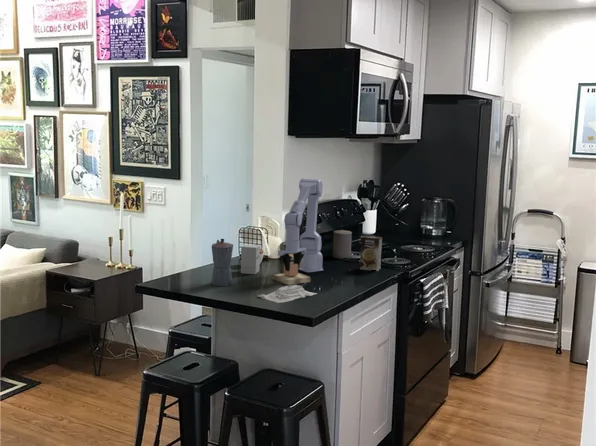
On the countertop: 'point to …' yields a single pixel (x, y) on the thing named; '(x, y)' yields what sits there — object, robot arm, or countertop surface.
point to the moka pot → (222, 263)
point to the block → (292, 269)
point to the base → (291, 278)
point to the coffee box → (370, 253)
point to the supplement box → (250, 259)
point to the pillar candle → (342, 244)
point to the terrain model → (287, 294)
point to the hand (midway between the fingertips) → (291, 269)
